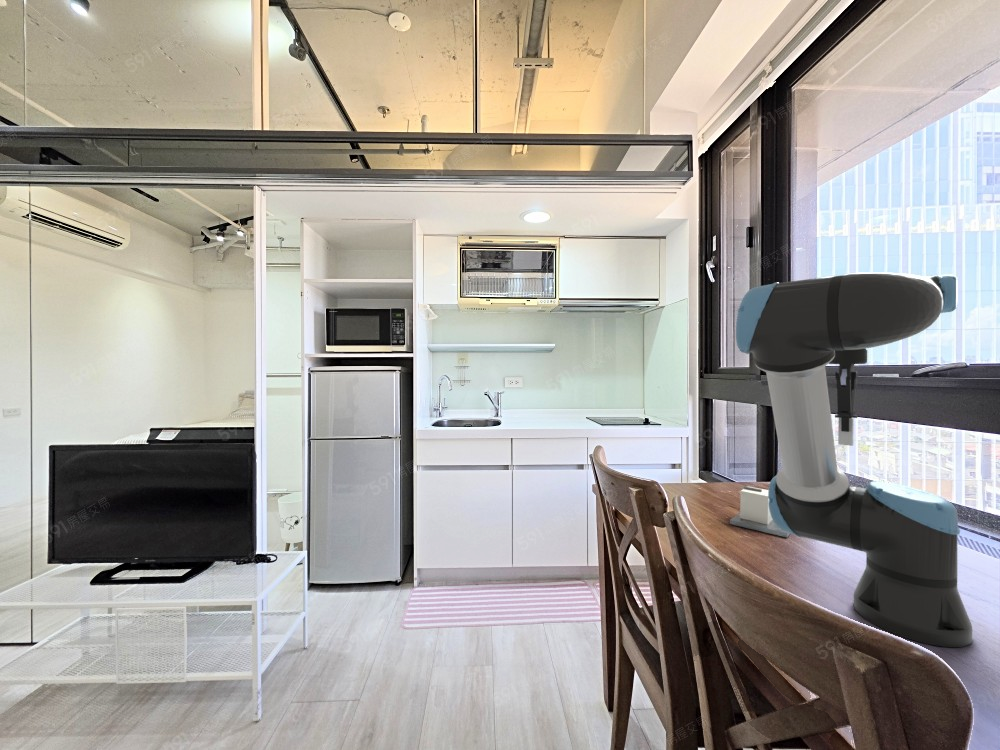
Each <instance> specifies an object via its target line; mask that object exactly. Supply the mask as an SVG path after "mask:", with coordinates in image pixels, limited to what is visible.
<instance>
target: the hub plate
mask: <svg viewBox="0 0 1000 750" xmlns="http://www.w3.org/2000/svg"><path fill="white" fill-rule="evenodd" d="M729 524H730V525H733V526H737V527H742V528H746V529H750V530H754V531H759V532H762V533H766V534H769V535H770V534H771V535H774V536H779V537H783V538H788V537H790V535H792V534H791V533H787V532H785V531H782V530H781V529H779V528H778V527H777V526H776V524H775V523H774V521H773V520H772V521H771V522H770V523H769V524H768V525H767V524H763V523H759V522H755V521H750V520H746V519H742V518H740V512H739V513H737V514H735V516H733V517H732V518H730V519H729Z"/></svg>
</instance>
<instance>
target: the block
mask: <svg viewBox="0 0 1000 750" xmlns="http://www.w3.org/2000/svg"><path fill="white" fill-rule="evenodd" d="M768 490H769V489H765V488H764V489H763V488H758V487H753V486H744V488H743V489H742V490H740V493H739V494H740V495H739V496H740V500H739V513H740V518H742V519H746V520H750V521H755V522H759V523H763V524H767V525H768V524H769V523H770V522H771V521H772V520H773V519H772V517H771V514H770V510H769V498H768Z"/></svg>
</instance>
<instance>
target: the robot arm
mask: <svg viewBox="0 0 1000 750" xmlns="http://www.w3.org/2000/svg"><path fill="white" fill-rule="evenodd" d="M957 305H958V276H957V277H956V275H954V274H940V275H937V274H935V275H930V276H921V275H918V274H911V273H897V272H895V273H894V272H854V273H846V274H841V275H831V276H823V277H815V278H807V279H802V280H794V281H784V282H779V281H778V282H777V281H775V282H773V283H771V284H764V285H759V286H755V287H752V288H751V289H749V290H748V291H747V292H746V293H745V294H744V296H743V297H742V299H741V302H740V305H739V308H738V312H737V317H736V322H735V323H736V325H735V340H736V346H737V348H738V350H739V352H741V353H744V354H746V355H749V354H750V355H751V354H752V357H753V363H754V365H755V367H756V368H758V369H759V370H761V371H763V372H765V374H766V379H767V384H768V390H769V396H770V397H769V398H770V401H771V408H772V415H773V419H774V425H775V430H776V436H777V443H778V447H779V448H778V449H779V454H780V461H781V466H782V467H781V468H780V469H779V470H778V472H777V473H776V475H775V476H774V477H772V479H770V482H769V485H768V489H767V490H768V498H769V510H770V514H771V517H772V519H773V521H774V523H775V524H776V526H777V527H778V528H779V529H781V530H782V531H785V532H787V533H791V534H790V535H795V536H796V537H800V538H805V539H810V540H814V541H817V542H823V543H827V544H829V545H830V544H831V545H834V546H839V547H842V548H843V547H844V548H847V549H852V550H856V551H860V552H863V553H865V555H866V558H865V559H866V562H865V563H866V564H865V569H864V570H863V573H862V575H861V577H860V579H859V582H858V583H857V586H856V587H855V590H854V591H853V602H852V603H853V608H854V609H855V611H856V612H857V613H858V614H859V615H860V616H861V617H862V618H864V619H865V620H867V621H868V622H870V623H872V624H873V625H875V626H877V627H878V628H881V629H882V630H885V631H887V632H890V633H892V634H894V635H897V636H900V637H902V638H905V639H909V640H912V641H916V642H919V643H923V644H928V645H931V646H932V645H933V646H937V647H938V646H939V647H943V648H944V647H946V648H947V647H948V648H963V647H966V646H969V645H971V644H972V642H973V625H972V622H971V619H970V617H969V615H968V612H967V610H966V607H965V605H964V602H963V600H962V597H961V594H960V592H959V590H958V536H959V535H960V533H961V530H960V528H959V520H958V519H959V518H958V511H957V508H956V507H955V505H954V504H953V503H951V502H950V501H949V500H947V499H946V498H943V497H942V496H940V495H937V494H935V493H931V492H929V491H927V490H923V489H919V488H916V487H912V486H907V485H903V484H900V483H893V482H885V481H877V480H875V481H869V482H868V483H867V485H865V487H858V486H853V485H850V481H849V478H848V476H847V474H846V473H844V471H843V470H841V469H840V468H838V464H837V455H836V447H835V439H834V430H833V421H832V413H831V405H830V404H831V403H830V397H829V388H828V381H827V380H828V379H827V371H826V367H827V366H828V365H838V371H835V374H834V375H835V377H834V378H835V380H836V391H837V393H836V395H837V396H836V397H837V413H836V414H835V415H834V417H835V418H837V419H838V434H837V435H838V436H837V437H838V438H837V439H838V442H837V444H838V445H839V446H841V445H842V446H854V426H855V425H854V424H855V423H854V421H855V419H858V415H856V411H855V407H856V406H855V405H856V403H855V401H856V390H857V382H858V381H857V380H858V378H859V372H858V371H855V365H865V364H867V362H868V349H870V348H877V347H880V346H885V345H888V344H892V343H894V342H898V341H901V340H904V339H905V340H906V339H907V338H910V337H913V336H915V335H918V334H919V333H921V332H923V331H925V330H927V329H928V328H929V327H931V326H932V325H933V324H934V323H935V322H936V321H937V320H938V318H939V317H940V315H941V314H944V313H952V312H954V311H955V310H956V309H957V307H958V306H957Z"/></svg>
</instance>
